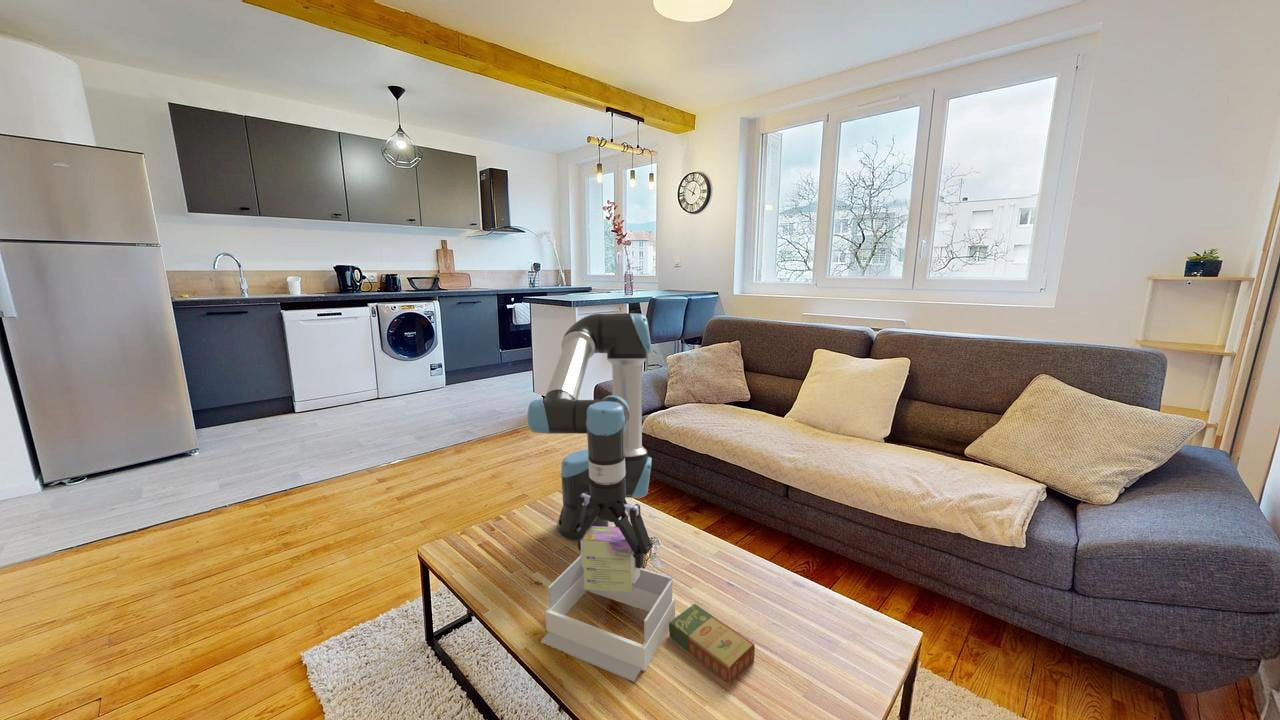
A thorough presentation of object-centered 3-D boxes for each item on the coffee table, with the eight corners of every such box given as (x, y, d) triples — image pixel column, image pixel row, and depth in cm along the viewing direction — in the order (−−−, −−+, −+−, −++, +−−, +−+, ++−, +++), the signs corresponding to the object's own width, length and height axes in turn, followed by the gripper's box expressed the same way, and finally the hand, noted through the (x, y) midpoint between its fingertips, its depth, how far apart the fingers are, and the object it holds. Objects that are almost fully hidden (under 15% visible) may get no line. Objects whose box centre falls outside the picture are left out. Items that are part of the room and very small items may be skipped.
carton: (728, 686, 86) (729, 667, 86) (668, 637, 98) (667, 620, 97) (754, 661, 92) (755, 642, 91) (694, 618, 104) (694, 601, 103)
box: (635, 575, 102) (635, 526, 100) (633, 593, 97) (631, 542, 94) (589, 572, 103) (587, 524, 101) (584, 590, 98) (581, 540, 95)
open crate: (537, 641, 97) (534, 599, 95) (585, 587, 114) (584, 550, 112) (638, 683, 87) (637, 637, 85) (675, 617, 103) (675, 577, 101)
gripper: (549, 474, 97) (554, 566, 101) (652, 497, 87) (653, 599, 91) (569, 460, 104) (574, 547, 108) (667, 480, 93) (668, 576, 98)
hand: (610, 571), depth 100 cm, fingers closed on box, 11 cm apart
